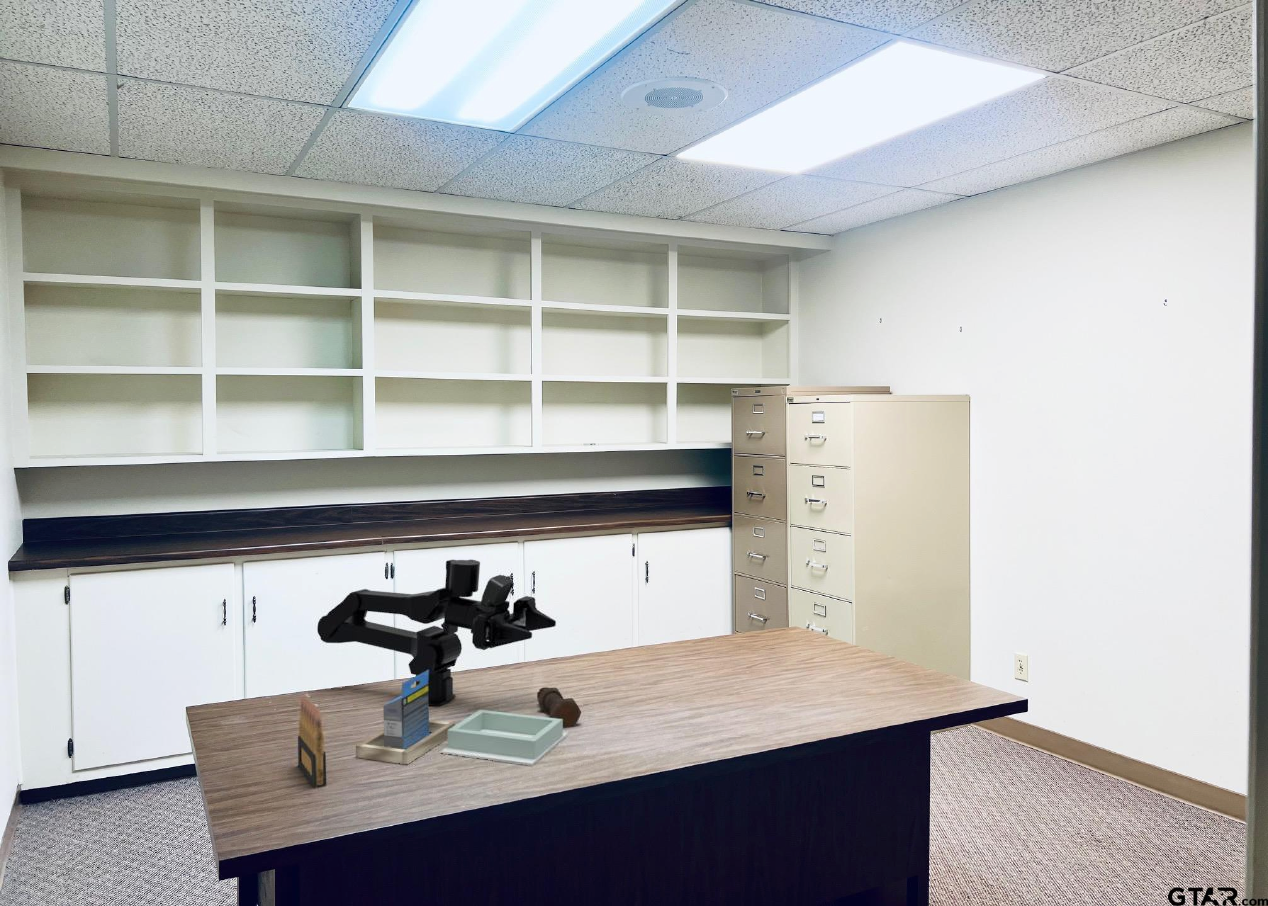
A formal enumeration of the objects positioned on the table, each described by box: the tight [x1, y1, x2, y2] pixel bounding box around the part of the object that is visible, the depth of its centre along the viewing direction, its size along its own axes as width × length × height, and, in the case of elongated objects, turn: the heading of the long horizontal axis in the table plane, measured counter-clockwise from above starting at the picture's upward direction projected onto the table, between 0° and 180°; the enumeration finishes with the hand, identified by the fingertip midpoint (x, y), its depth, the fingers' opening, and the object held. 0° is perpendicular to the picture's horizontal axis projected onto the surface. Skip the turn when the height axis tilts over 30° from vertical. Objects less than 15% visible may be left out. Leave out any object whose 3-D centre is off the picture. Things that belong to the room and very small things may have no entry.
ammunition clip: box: [297, 693, 327, 789], centre depth 139 cm, size 11×2×12 cm, turn 33°
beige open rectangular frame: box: [355, 719, 456, 765], centre depth 152 cm, size 10×15×2 cm, turn 161°
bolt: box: [536, 687, 582, 729], centre depth 167 cm, size 6×5×15 cm
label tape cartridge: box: [383, 670, 430, 750], centre depth 152 cm, size 9×4×12 cm, turn 163°
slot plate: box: [440, 709, 569, 767], centre depth 152 cm, size 17×15×3 cm
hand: (543, 629), depth 166 cm, fingers open, 9 cm apart
